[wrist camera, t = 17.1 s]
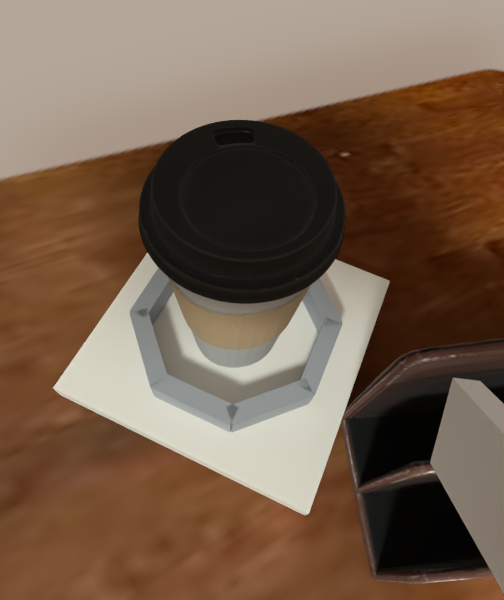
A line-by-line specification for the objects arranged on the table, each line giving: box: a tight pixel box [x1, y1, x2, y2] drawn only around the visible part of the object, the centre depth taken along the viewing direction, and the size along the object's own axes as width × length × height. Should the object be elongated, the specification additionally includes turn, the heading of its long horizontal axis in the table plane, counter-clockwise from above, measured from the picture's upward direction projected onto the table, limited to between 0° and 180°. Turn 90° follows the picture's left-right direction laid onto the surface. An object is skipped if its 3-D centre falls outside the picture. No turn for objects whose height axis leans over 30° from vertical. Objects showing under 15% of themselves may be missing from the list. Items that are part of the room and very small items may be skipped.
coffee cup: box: [139, 120, 345, 368], centre depth 26 cm, size 9×9×15 cm
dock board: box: [53, 253, 390, 515], centre depth 32 cm, size 18×18×4 cm
